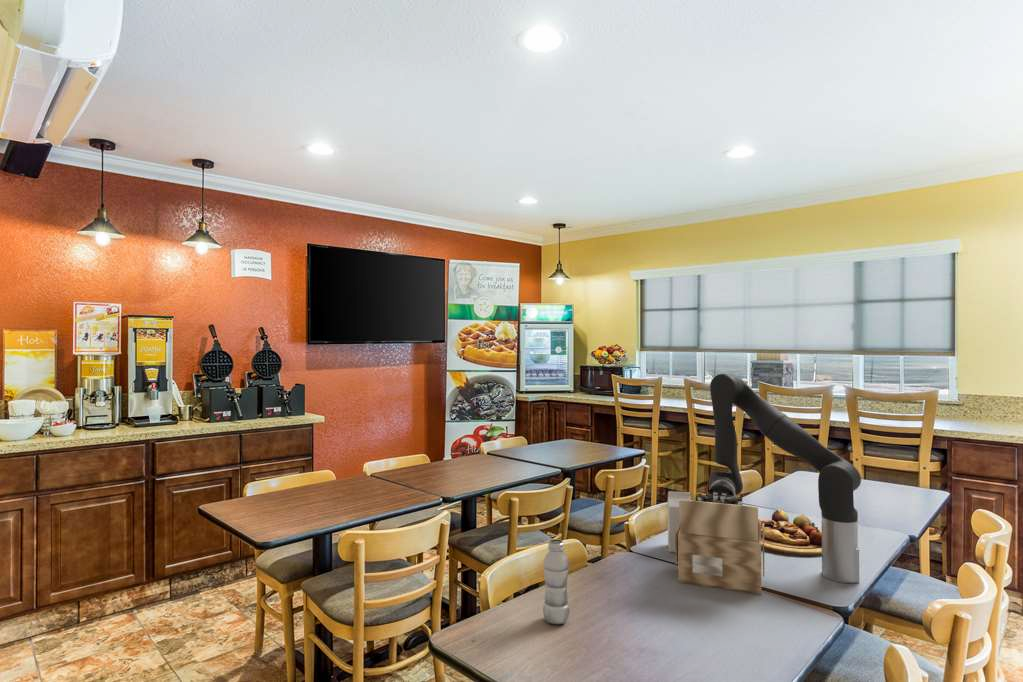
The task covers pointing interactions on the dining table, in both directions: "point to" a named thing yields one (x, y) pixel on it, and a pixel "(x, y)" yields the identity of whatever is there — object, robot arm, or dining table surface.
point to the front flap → (719, 520)
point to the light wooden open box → (719, 561)
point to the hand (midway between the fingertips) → (717, 507)
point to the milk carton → (674, 515)
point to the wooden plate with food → (791, 536)
